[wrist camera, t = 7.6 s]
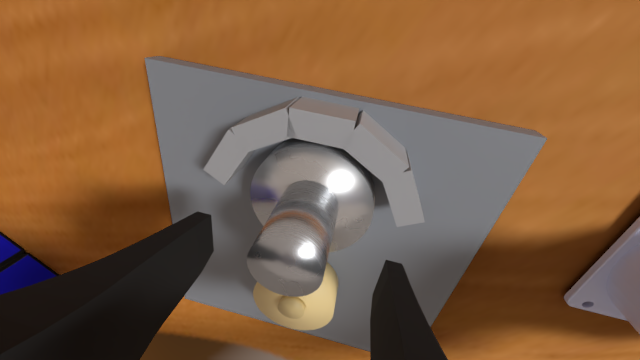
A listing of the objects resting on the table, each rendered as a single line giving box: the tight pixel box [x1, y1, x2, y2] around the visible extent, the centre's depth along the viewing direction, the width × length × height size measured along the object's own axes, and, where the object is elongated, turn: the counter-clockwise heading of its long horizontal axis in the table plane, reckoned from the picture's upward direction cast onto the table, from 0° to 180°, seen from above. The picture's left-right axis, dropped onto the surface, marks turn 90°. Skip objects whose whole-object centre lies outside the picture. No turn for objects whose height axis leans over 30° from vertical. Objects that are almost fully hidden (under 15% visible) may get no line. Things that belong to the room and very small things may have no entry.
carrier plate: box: [145, 56, 547, 352], centre depth 16 cm, size 18×18×3 cm
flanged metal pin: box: [247, 138, 374, 297], centre depth 12 cm, size 6×6×6 cm
